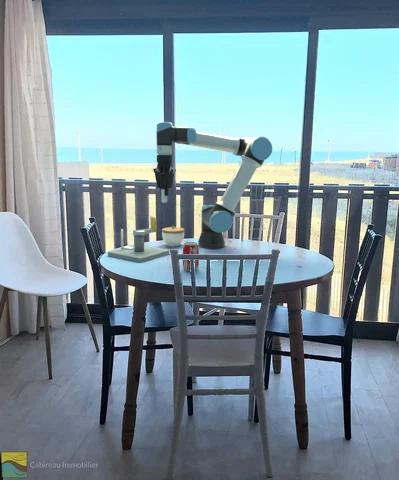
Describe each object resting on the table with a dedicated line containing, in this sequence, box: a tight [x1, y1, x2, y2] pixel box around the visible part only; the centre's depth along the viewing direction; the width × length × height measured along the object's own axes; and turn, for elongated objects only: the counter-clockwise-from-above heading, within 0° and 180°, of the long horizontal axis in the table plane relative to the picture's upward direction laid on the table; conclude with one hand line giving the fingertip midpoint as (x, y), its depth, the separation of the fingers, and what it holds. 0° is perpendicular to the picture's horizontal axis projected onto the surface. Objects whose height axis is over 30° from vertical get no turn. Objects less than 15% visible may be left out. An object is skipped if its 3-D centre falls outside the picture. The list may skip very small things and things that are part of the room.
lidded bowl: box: [161, 225, 185, 247], centre depth 231 cm, size 13×13×11 cm
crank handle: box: [132, 215, 157, 237], centre depth 209 cm, size 16×6×8 cm, turn 146°
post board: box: [107, 228, 170, 263], centre depth 206 cm, size 22×22×12 cm
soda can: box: [182, 241, 200, 272], centre depth 180 cm, size 7×7×12 cm
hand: (164, 202), depth 207 cm, fingers closed
